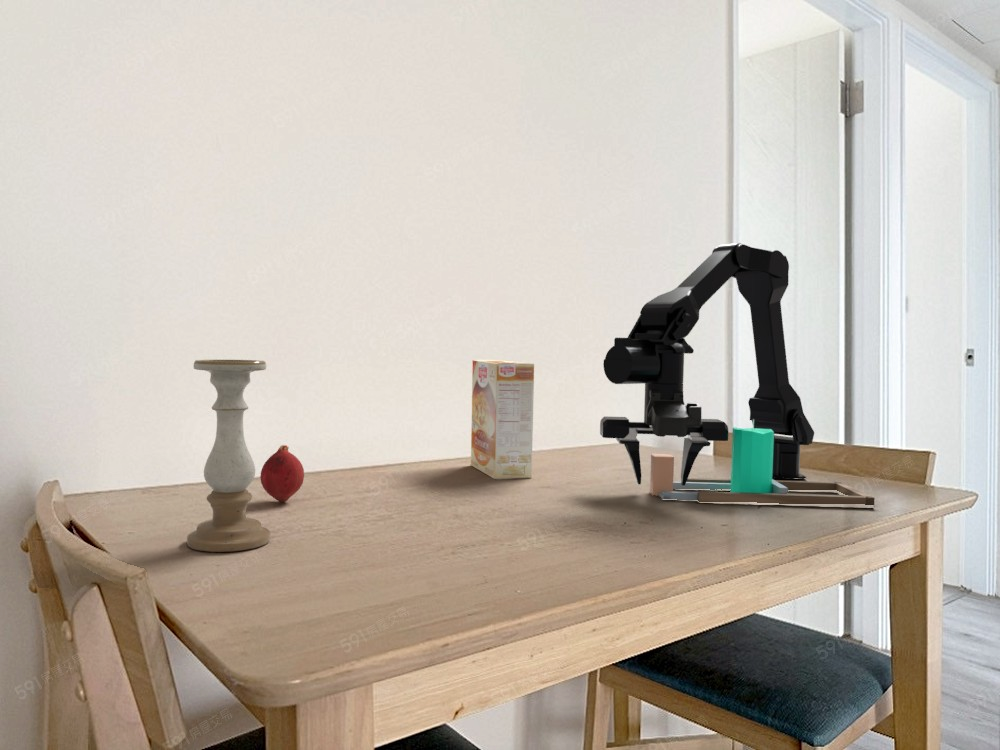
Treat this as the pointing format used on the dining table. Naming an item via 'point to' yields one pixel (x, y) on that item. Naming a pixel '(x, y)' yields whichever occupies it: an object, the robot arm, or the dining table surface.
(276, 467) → the onion
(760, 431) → the candle
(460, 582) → the dining table surface
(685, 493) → the frame
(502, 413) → the coffeecake box
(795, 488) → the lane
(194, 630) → the dining table surface
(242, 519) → the candle holder
